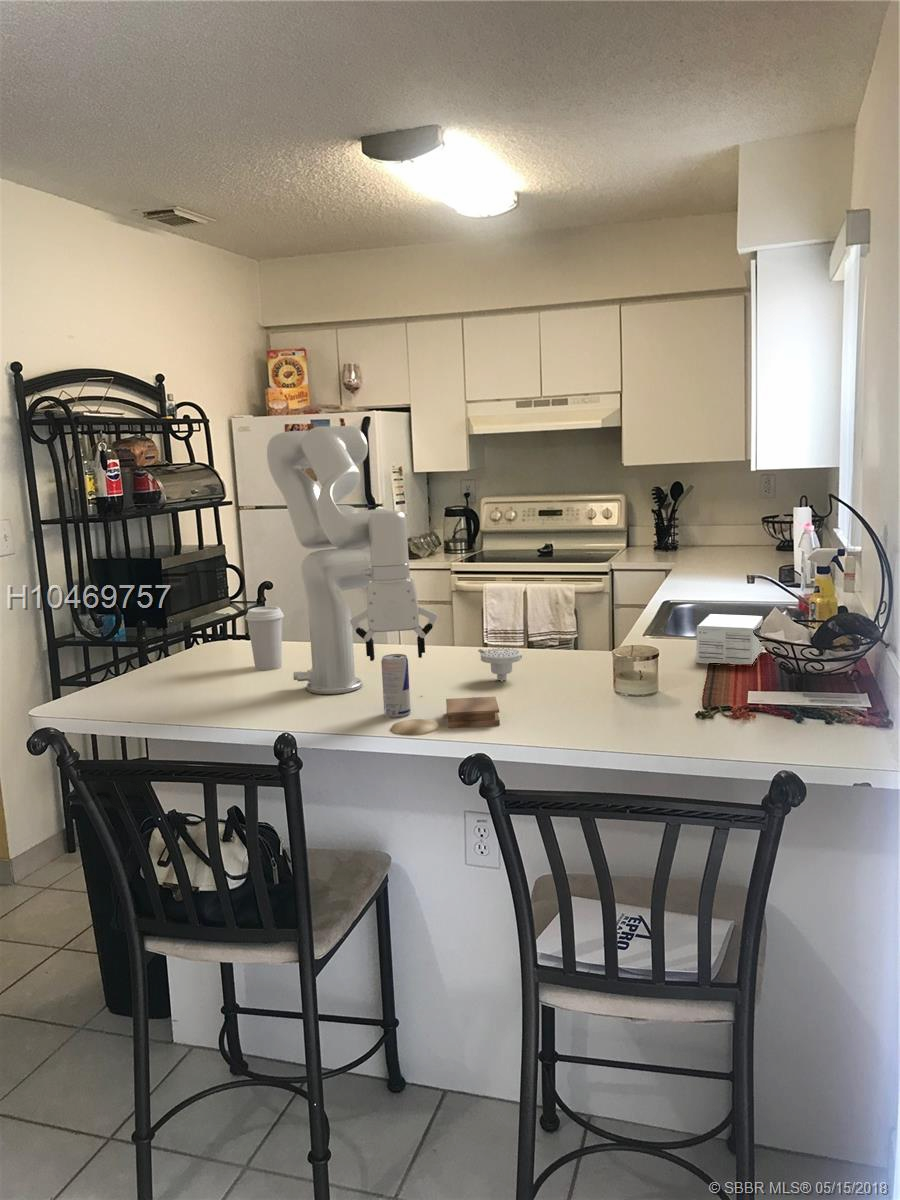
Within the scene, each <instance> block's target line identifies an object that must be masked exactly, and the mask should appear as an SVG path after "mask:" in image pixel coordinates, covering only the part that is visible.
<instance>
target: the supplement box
mask: <svg viewBox="0 0 900 1200" xmlns="http://www.w3.org/2000/svg"><path fill="white" fill-rule="evenodd" d="M763 618H764V616H762V615H742V614H719V613H718V614H717V613H714V614H713V613H710V614H708V616H706V617H705V618H704V619H703V620H702V621H701V622H700V623H699V624H698V625H696V649H695V650H696V658H695V659H696V664H706V665H707V664H709V663H730V664H753V662H754V661H755V659H756V658H757V657H758V655H759V654H760V653H761V654H762V652H763V642H762V643H761V642H760V641H759V639H758V638H757V637H756V636H755V635H754V633H753V630H755V629H757V628H759V627H760V626H761V625H762V623H763V622H764V619H763ZM763 624H764V623H763ZM761 654H760V655H761ZM760 655H759V656H760ZM758 658H759V657H758ZM758 658H757V659H758ZM755 662H756V661H755ZM709 665H710V664H709ZM753 665H754V664H753Z"/></svg>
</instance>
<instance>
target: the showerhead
mask: <svg viewBox="0 0 900 1200" xmlns="http://www.w3.org/2000/svg"><path fill="white" fill-rule="evenodd" d="M477 652H478V653H480V662H483V663H486V664H490V672H491V673H493V675H494V674H495V675H496V678H497V679H496V680H506V681H507V680H508V678H507V675H509V674H511V673H512V672H513V663H517V662H520V661H521V660H522V658H523V652H522V651H520V650H518V649H514V648H510V647H508V648H505V647H503V648H499V647H498V648H492V649H488V650H486V649H485V650H484V649H482V648H479V649H478V651H477Z"/></svg>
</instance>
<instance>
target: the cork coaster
mask: <svg viewBox="0 0 900 1200" xmlns="http://www.w3.org/2000/svg"><path fill="white" fill-rule="evenodd" d="M439 728H440V727H439V723H438V722H437V721H435V720H431V719H425V718H412V719H405V720H401V721H398V722H395V723H394V724H392V725H391V730H392V732H393V733H395V734H397V735H402V736H420V735H421V736H422V735H427V734H431V733H433V732H435V731H437V730H438V729H439Z"/></svg>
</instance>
